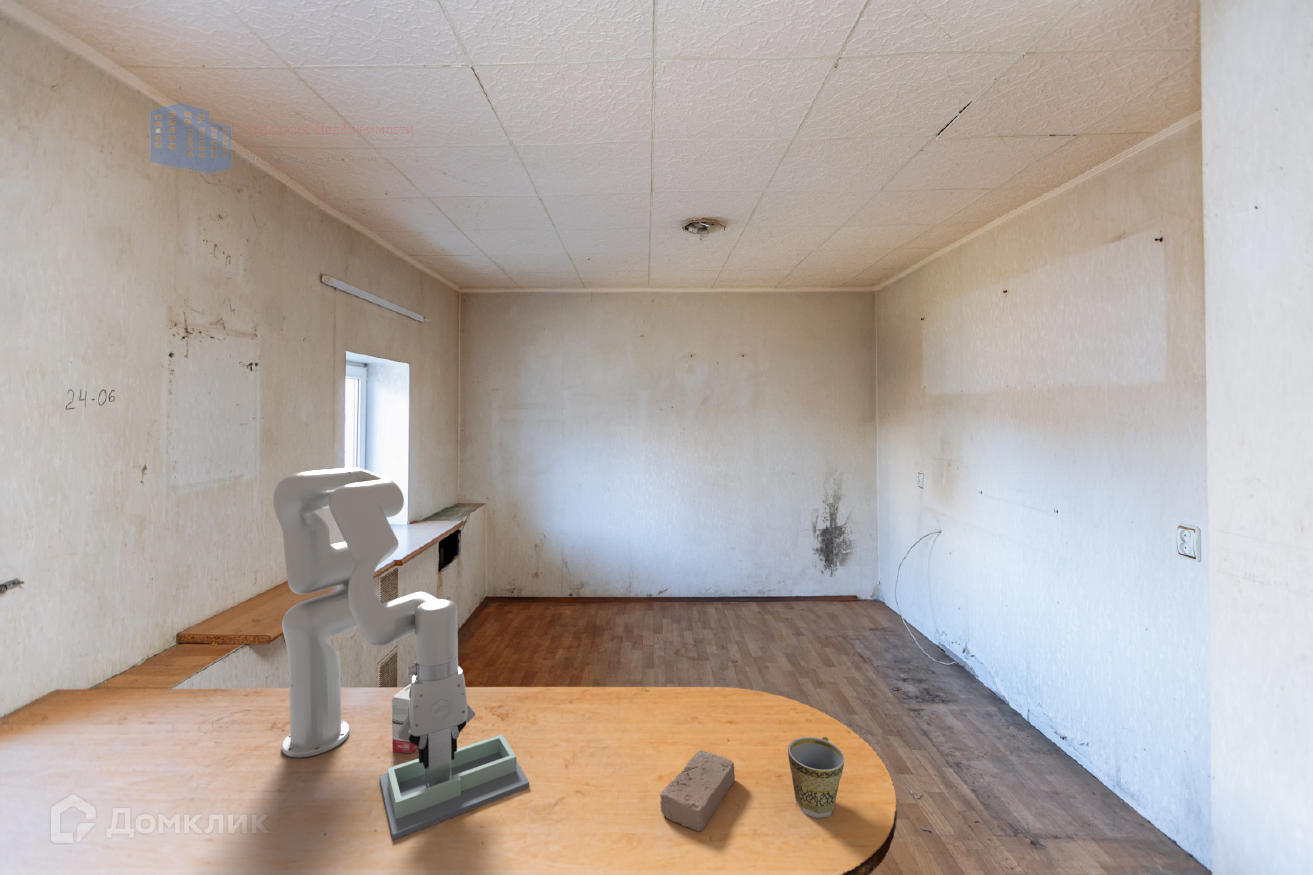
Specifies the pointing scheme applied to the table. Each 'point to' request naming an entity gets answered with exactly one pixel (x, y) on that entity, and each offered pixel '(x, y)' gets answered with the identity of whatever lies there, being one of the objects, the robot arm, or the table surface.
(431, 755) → the metal peg
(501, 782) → the green walled fixture tray
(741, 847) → the table surface
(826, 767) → the ceramic cup
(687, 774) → the brick
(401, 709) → the ink box
